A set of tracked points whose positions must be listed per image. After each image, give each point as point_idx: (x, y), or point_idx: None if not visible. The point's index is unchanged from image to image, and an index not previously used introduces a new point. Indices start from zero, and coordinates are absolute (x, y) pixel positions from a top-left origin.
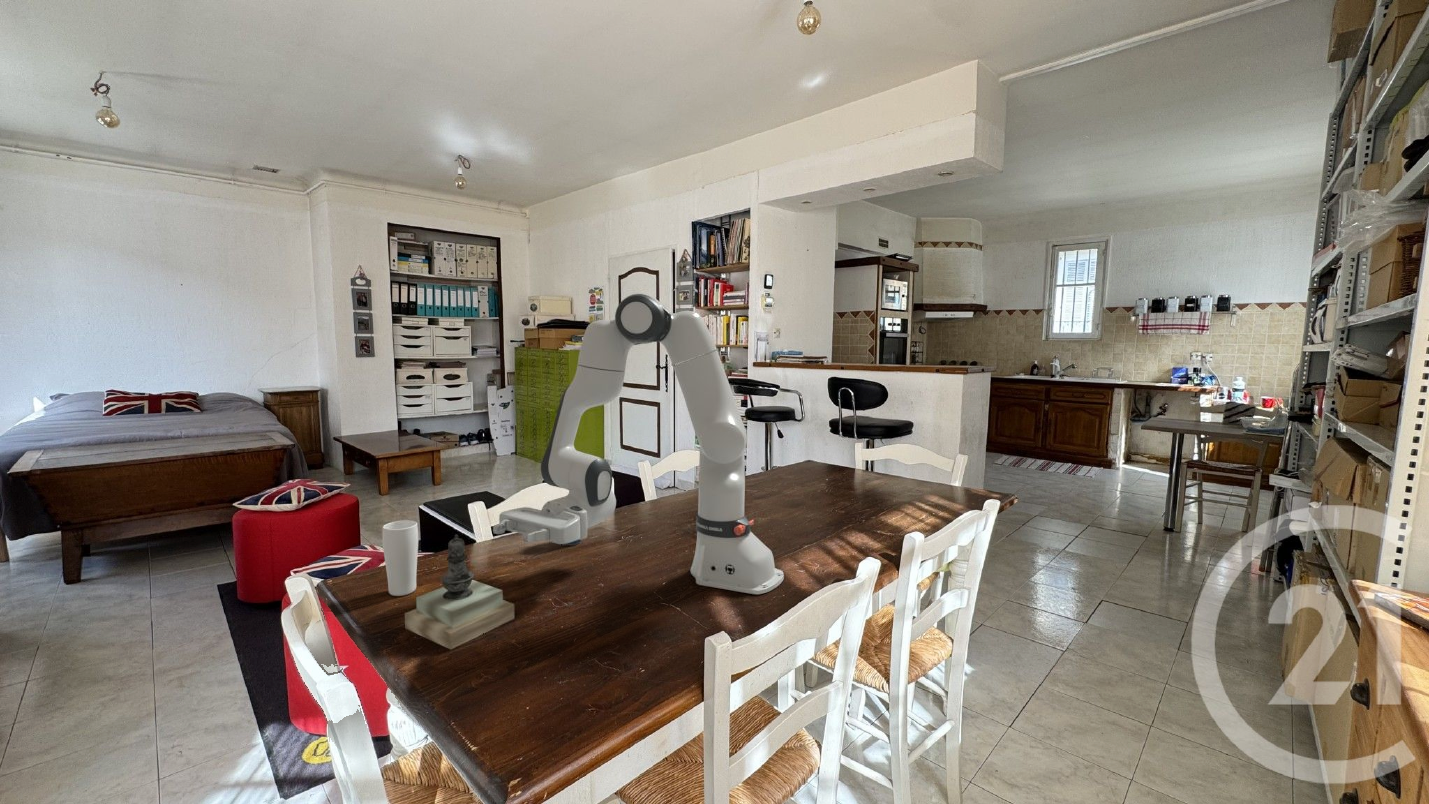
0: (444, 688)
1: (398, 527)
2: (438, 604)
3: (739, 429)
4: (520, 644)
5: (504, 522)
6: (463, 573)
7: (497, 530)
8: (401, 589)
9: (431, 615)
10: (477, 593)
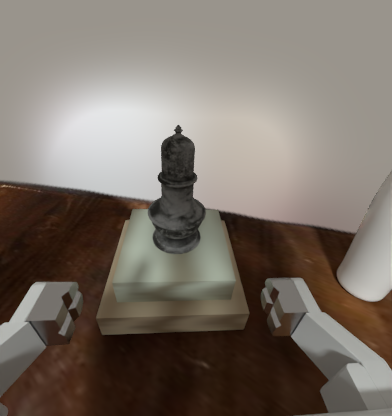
0: (79, 205)
1: None
2: None
3: None
4: None
5: (340, 347)
6: (160, 203)
7: (266, 286)
8: (340, 267)
9: None
10: (149, 251)
